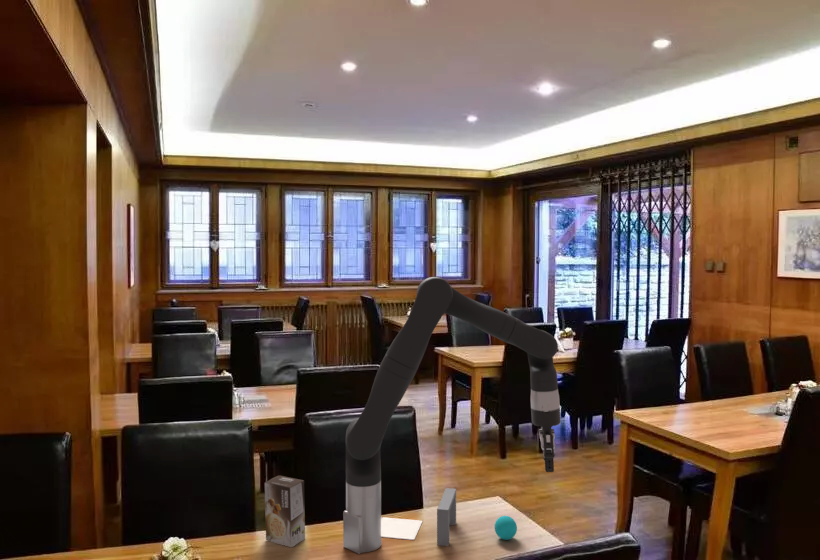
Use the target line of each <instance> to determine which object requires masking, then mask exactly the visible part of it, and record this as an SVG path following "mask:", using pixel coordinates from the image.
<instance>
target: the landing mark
mask: <svg viewBox="0 0 820 560" xmlns="http://www.w3.org/2000/svg"><path fill="white" fill-rule="evenodd" d="M422 524H423V520H419V519H417V520H416V519H409V518H408V519H407V518H397V517H396V518H394V517H385V516H383V517H382V516H381V538H387V539H396V540H399V539H400V540H405V541H406V540H410V541H415V539H416V537H417V534H418V532H419V531H420V528H421V526H422Z"/></svg>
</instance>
